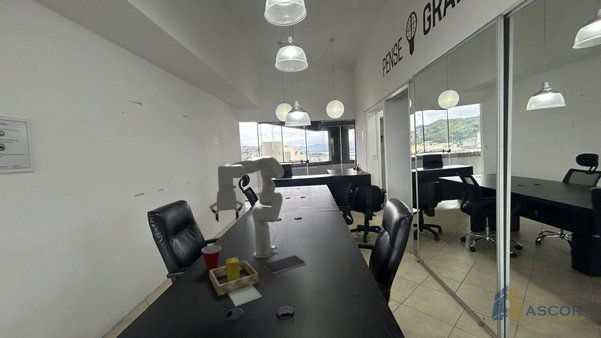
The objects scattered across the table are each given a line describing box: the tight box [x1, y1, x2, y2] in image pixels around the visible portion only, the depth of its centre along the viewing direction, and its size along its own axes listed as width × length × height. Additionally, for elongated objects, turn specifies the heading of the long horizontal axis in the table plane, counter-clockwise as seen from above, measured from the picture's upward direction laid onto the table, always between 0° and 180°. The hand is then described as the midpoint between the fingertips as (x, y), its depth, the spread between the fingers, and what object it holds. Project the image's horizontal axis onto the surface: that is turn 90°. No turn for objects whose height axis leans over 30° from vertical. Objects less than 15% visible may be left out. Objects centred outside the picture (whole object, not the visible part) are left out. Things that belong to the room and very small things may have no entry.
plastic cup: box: [201, 244, 222, 271], centre depth 142 cm, size 11×11×12 cm
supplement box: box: [226, 256, 241, 283], centre depth 126 cm, size 6×6×11 cm
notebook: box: [263, 254, 306, 275], centre depth 142 cm, size 13×2×21 cm
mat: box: [227, 284, 262, 307], centre depth 112 cm, size 12×12×1 cm
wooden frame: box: [208, 260, 260, 297], centre depth 127 cm, size 20×20×4 cm
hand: (227, 220), depth 129 cm, fingers open, 9 cm apart
